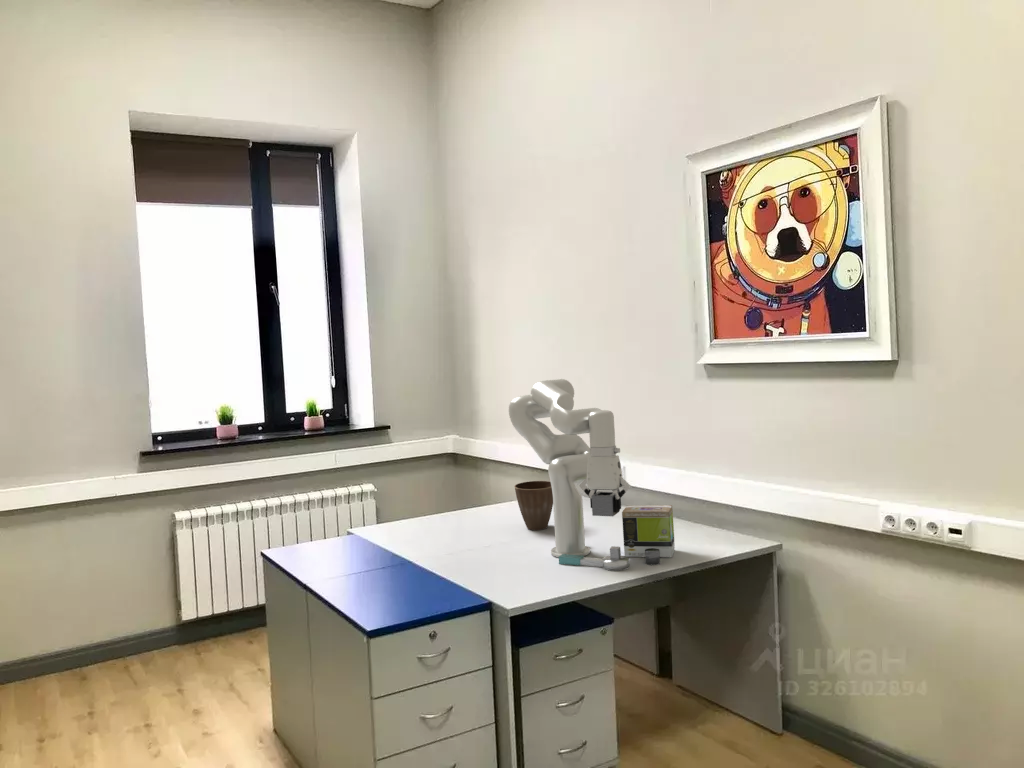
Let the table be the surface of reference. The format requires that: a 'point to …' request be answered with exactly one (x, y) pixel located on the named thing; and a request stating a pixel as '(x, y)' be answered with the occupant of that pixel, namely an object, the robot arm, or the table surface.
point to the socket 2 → (652, 556)
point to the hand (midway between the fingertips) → (606, 510)
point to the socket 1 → (603, 504)
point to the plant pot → (535, 503)
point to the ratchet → (598, 560)
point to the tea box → (648, 529)
